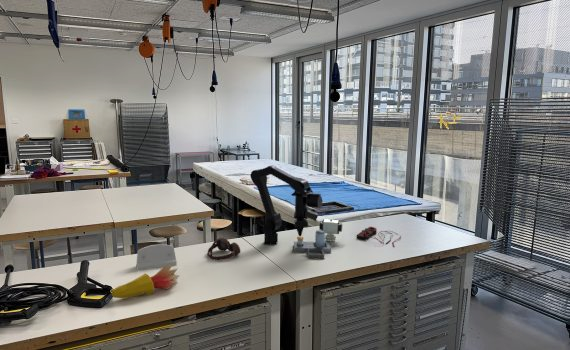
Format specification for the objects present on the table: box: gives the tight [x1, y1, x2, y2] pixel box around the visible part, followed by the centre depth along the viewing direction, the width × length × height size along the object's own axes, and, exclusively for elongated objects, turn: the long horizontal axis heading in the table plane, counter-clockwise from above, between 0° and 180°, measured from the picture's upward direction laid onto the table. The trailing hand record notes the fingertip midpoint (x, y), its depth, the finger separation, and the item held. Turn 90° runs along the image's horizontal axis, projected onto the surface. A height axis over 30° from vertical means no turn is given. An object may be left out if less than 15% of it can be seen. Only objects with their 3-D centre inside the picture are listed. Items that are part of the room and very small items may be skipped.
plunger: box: [296, 236, 304, 246], centre depth 190 cm, size 3×3×4 cm
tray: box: [306, 249, 325, 260], centre depth 181 cm, size 7×7×2 cm
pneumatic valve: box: [318, 218, 343, 243], centre depth 203 cm, size 6×12×12 cm, turn 76°
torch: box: [111, 262, 182, 299], centre depth 140 cm, size 8×8×25 cm
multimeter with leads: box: [356, 226, 402, 248], centre depth 210 cm, size 23×4×25 cm
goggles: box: [207, 237, 241, 261], centre depth 179 cm, size 15×13×10 cm
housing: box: [293, 241, 332, 254], centre depth 190 cm, size 18×10×2 cm, turn 90°
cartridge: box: [314, 229, 326, 247], centre depth 190 cm, size 5×5×9 cm
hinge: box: [136, 243, 178, 271], centre depth 166 cm, size 17×5×10 cm, turn 113°
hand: (300, 235), depth 190 cm, fingers closed
